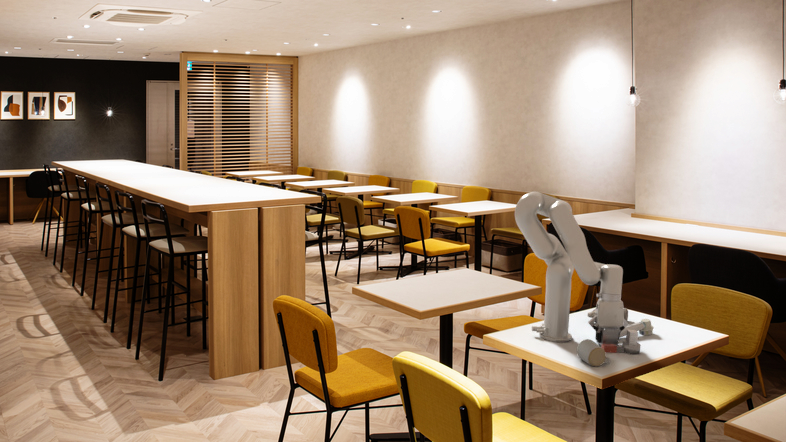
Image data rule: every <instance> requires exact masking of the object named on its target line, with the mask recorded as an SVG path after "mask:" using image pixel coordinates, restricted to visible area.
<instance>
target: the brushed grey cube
mask: <svg viewBox="0 0 786 442" xmlns="http://www.w3.org/2000/svg"><path fill="white" fill-rule="evenodd" d="M600 333H601V343H598V345H599V346H601V345H602V344H615V345H619V341H618V338H619V329H618V328H616V327H602V329H601V332H600ZM619 339H620V338H619Z"/></svg>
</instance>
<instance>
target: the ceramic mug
mask: <svg viewBox="0 0 786 442" xmlns="http://www.w3.org/2000/svg"><path fill="white" fill-rule="evenodd" d="M576 354H577V356H578V358H579V359H581V360H582V361H584V362H585V363H587V364H588V365H590V366H592V367H600V366H602V365H603V364H604V363H605V364H607V365H609V364H610V362H611V358H609V357H607V352H605V351H604V350H603V349H602V348H601V345H600V344H598V343H597V342H595V341H593V340H592V339H583V340H582V341H581V342H579V344H578V345H577V348H576Z"/></svg>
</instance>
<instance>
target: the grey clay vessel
mask: <svg viewBox="0 0 786 442" xmlns="http://www.w3.org/2000/svg"><path fill="white" fill-rule="evenodd" d="M595 310H596V308H594V309H593V310H592V311H590V312H587V317H588V318H591V319H592V318H593V317H594V316H595ZM624 319H625V320H626V321H627V322H628V320H629V309H628V308H627V307H624Z"/></svg>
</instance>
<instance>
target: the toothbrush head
mask: <svg viewBox="0 0 786 442" xmlns="http://www.w3.org/2000/svg"><path fill="white" fill-rule="evenodd" d="M627 330H636V331H637V332H638V334H640V335H643V336H651V335H652V334H653V331H654V326H653V325H652V321H651V319H649V318H642V319H641V320H640V321H639V322H636V323H635V322H634V323H632V324H629V325H628V326H627V327H625V329H624V330H622V331H621V333H620V336H619V339H620V338H622V337H625V336H626V333H627Z"/></svg>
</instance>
